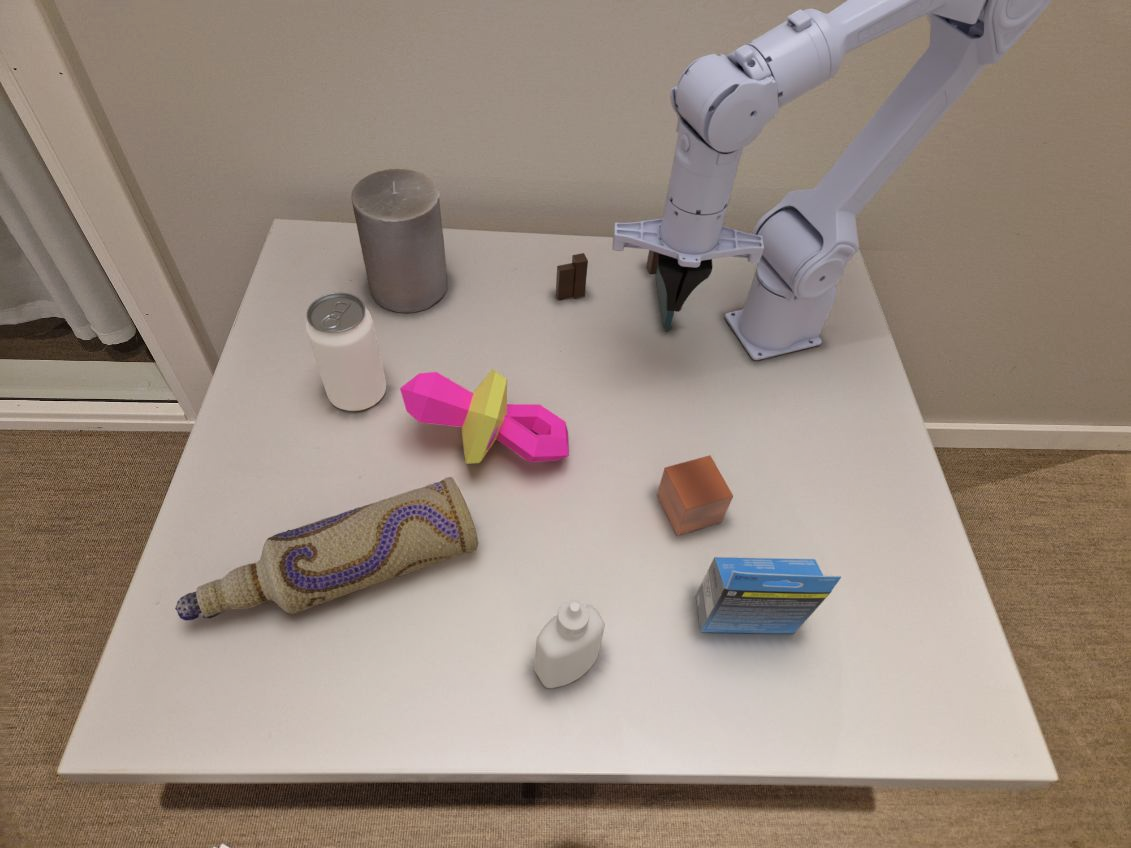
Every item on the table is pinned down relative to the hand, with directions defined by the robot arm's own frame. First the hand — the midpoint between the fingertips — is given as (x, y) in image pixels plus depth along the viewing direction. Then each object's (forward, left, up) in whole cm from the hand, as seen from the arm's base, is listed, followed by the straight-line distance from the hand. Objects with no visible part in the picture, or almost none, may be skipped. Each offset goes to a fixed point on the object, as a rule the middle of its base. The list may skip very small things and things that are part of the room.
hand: (672, 304), depth 78 cm
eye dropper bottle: (+22, +30, -10) cm, 38 cm away
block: (+5, +19, -9) cm, 22 cm away
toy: (+22, +5, -10) cm, 25 cm away
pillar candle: (+25, -21, -10) cm, 34 cm away
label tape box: (+5, +31, -10) cm, 33 cm away
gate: (-1, -14, -9) cm, 17 cm away
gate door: (-5, -9, -9) cm, 14 cm away
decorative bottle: (+39, +14, -10) cm, 42 cm away
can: (+34, -6, -10) cm, 36 cm away
